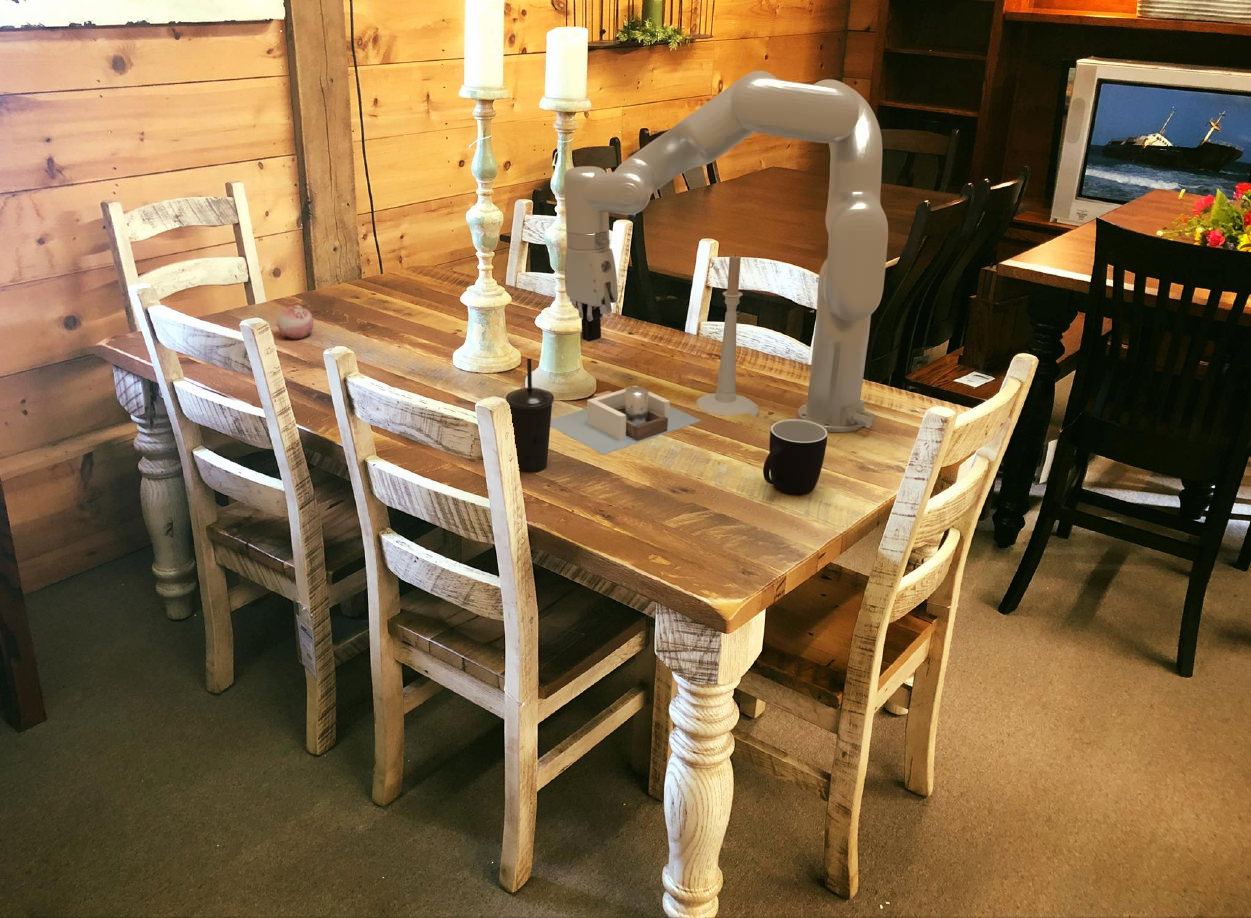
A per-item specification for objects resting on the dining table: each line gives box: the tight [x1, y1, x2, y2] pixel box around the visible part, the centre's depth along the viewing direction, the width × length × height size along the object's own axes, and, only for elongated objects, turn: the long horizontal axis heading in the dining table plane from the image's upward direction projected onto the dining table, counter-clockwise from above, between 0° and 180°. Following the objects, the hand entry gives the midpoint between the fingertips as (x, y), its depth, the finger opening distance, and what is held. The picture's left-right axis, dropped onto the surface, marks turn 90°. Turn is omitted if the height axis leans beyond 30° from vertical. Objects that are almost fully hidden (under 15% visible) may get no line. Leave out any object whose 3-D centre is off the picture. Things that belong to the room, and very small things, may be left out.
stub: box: [625, 386, 649, 425], centre depth 186 cm, size 4×4×7 cm
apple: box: [276, 304, 314, 341], centre depth 229 cm, size 8×8×7 cm
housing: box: [586, 385, 671, 441], centre depth 189 cm, size 12×11×4 cm
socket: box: [614, 405, 668, 441], centre depth 187 cm, size 9×7×2 cm
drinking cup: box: [505, 358, 555, 474], centre depth 169 cm, size 8×8×20 cm
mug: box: [762, 418, 828, 497], centre depth 168 cm, size 12×9×10 cm
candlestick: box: [696, 253, 760, 418], centre depth 192 cm, size 13×13×30 cm
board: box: [550, 405, 702, 455], centre depth 190 cm, size 17×23×2 cm
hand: (591, 338), depth 193 cm, fingers closed
